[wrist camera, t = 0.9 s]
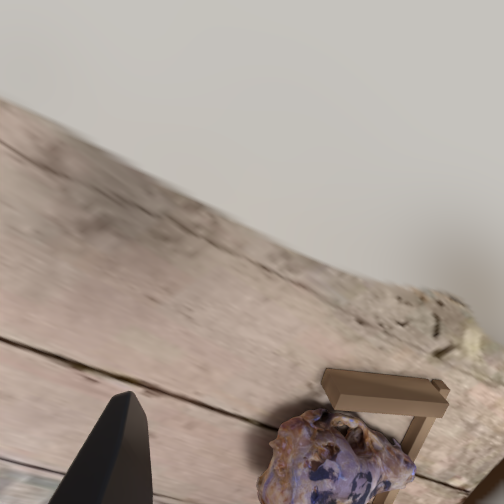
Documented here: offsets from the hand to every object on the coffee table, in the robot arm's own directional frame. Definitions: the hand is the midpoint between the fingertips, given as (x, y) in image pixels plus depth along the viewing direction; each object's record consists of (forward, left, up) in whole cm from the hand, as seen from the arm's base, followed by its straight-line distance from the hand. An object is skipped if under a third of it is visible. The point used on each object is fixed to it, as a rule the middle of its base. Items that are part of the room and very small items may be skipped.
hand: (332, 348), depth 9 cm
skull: (-17, -11, -15) cm, 25 cm away
